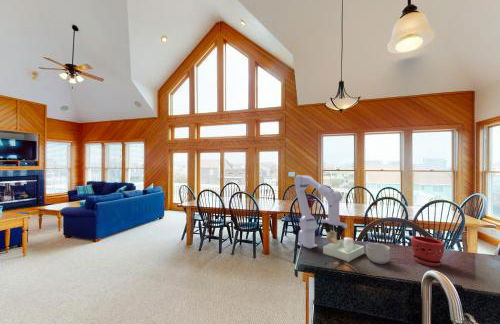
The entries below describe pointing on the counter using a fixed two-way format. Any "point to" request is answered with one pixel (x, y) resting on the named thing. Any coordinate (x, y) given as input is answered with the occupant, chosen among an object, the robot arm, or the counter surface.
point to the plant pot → (427, 250)
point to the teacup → (378, 253)
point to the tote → (339, 252)
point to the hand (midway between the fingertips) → (333, 238)
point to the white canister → (348, 244)
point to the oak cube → (332, 237)
